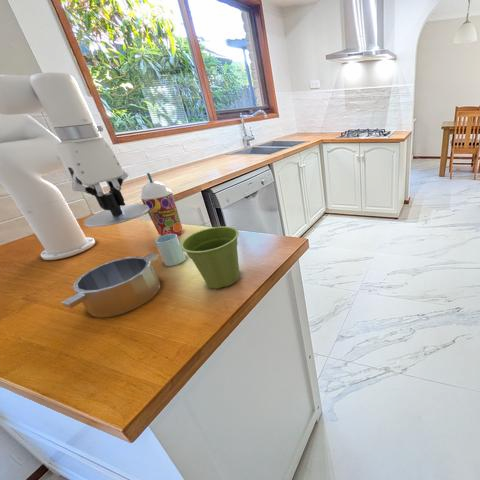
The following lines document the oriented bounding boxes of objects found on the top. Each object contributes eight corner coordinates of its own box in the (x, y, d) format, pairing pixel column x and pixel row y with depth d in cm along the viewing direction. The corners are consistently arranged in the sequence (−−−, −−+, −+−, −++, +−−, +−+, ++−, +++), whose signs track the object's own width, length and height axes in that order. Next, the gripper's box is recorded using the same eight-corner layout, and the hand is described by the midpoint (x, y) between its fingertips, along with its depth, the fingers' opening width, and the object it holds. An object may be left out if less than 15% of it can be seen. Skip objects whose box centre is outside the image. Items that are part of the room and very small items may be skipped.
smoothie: (173, 240, 89) (148, 177, 80) (151, 239, 91) (123, 177, 82) (191, 228, 97) (170, 169, 87) (170, 228, 98) (147, 169, 89)
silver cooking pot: (59, 319, 59) (41, 294, 56) (143, 269, 75) (133, 248, 72) (102, 332, 55) (85, 306, 52) (182, 277, 70) (173, 254, 67)
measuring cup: (160, 264, 77) (150, 241, 73) (176, 255, 81) (167, 232, 78) (174, 267, 75) (164, 243, 72) (189, 257, 79) (181, 234, 76)
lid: (72, 226, 74) (58, 202, 71) (127, 206, 86) (117, 184, 83) (110, 231, 69) (96, 205, 66) (162, 209, 81) (153, 186, 78)
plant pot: (186, 297, 63) (168, 252, 58) (211, 267, 74) (197, 227, 68) (239, 295, 63) (225, 250, 57) (256, 265, 73) (246, 225, 68)
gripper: (104, 129, 75) (133, 196, 84) (26, 140, 62) (71, 218, 71) (123, 128, 73) (152, 197, 81) (47, 139, 60) (91, 220, 68)
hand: (114, 206), depth 76 cm, fingers closed on lid, 2 cm apart
